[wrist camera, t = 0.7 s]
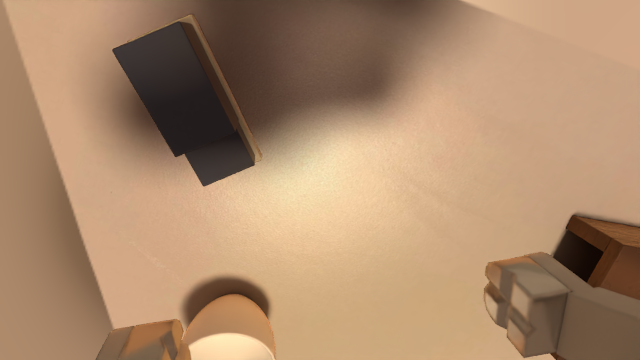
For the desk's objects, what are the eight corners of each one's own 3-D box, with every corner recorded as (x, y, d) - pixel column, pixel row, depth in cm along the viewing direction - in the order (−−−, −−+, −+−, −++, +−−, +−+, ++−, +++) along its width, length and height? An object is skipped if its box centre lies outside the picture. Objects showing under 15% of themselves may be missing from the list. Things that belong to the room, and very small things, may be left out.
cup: (284, 286, 34) (288, 341, 28) (255, 364, 37) (253, 431, 31) (200, 269, 32) (185, 326, 26) (177, 354, 35) (158, 422, 29)
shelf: (572, 215, 36) (647, 258, 29) (664, 231, 38) (753, 274, 31) (518, 318, 40) (572, 378, 33) (604, 327, 43) (671, 384, 36)
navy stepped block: (132, 41, 25) (102, 42, 20) (194, 15, 25) (178, 9, 20) (209, 177, 29) (199, 204, 24) (262, 155, 29) (261, 177, 24)
